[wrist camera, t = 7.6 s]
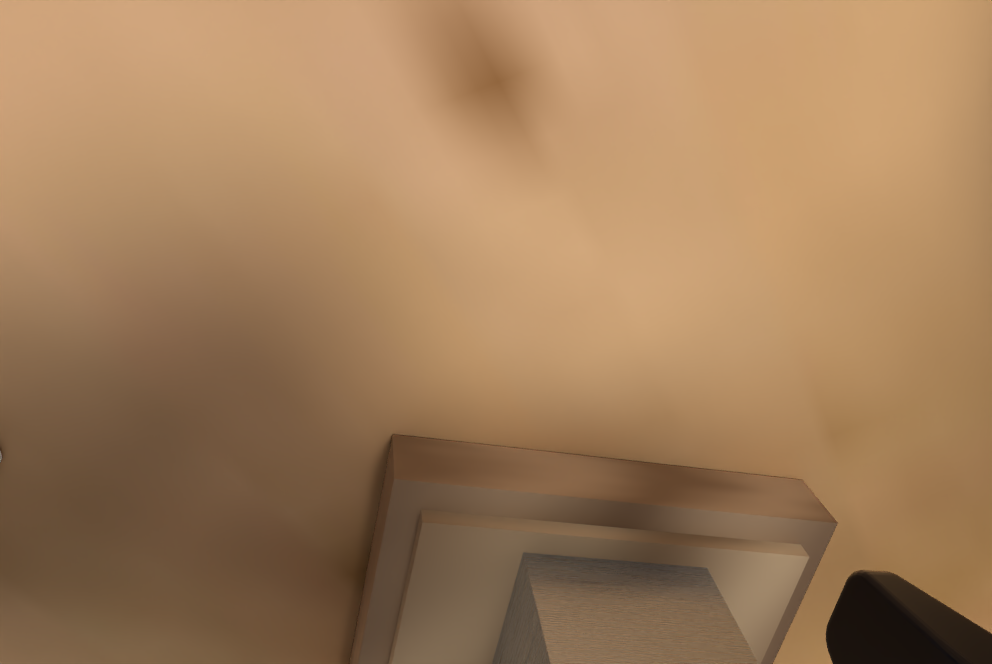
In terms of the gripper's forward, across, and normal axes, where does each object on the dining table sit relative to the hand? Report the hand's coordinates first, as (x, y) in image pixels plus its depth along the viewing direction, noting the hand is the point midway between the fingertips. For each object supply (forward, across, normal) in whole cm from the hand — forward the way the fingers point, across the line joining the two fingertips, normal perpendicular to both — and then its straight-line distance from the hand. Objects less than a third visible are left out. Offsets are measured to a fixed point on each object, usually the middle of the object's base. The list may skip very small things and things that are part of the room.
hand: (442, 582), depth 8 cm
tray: (+12, -6, +12) cm, 18 cm away
